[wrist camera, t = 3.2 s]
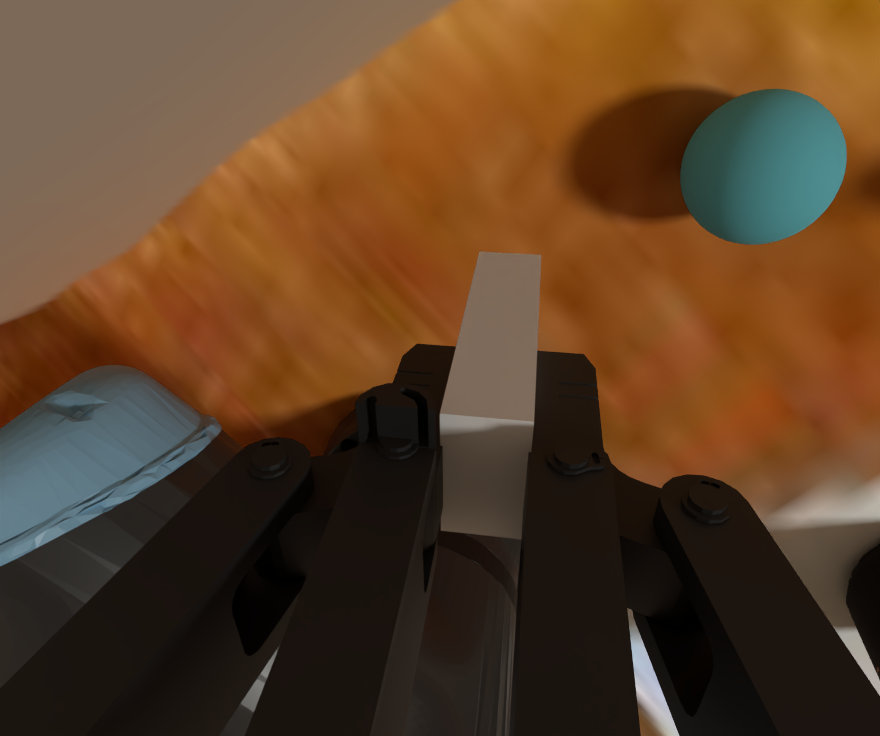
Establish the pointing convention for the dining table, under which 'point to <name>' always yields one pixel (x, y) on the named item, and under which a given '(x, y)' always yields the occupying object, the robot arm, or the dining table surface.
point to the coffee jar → (867, 603)
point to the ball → (763, 166)
